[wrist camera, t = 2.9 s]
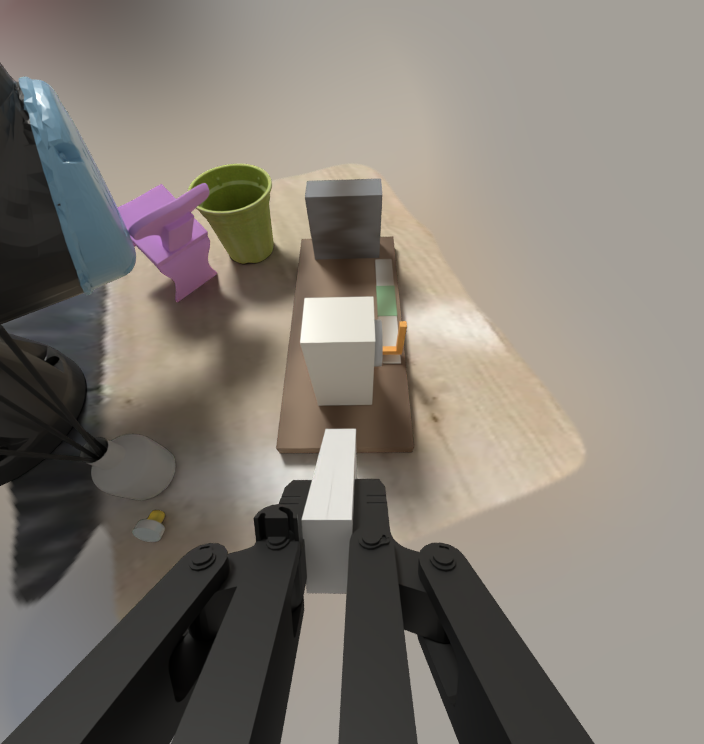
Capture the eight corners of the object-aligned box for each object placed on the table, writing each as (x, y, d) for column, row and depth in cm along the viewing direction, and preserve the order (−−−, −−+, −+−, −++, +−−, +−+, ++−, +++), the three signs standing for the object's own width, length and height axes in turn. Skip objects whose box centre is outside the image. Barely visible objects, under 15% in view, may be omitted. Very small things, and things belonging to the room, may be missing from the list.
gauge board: (279, 453, 30) (247, 411, 21) (303, 248, 44) (289, 176, 36) (411, 452, 29) (430, 409, 21) (392, 246, 43) (398, 172, 35)
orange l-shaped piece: (325, 364, 32) (319, 334, 28) (326, 348, 33) (321, 316, 29) (401, 363, 32) (407, 333, 28) (400, 346, 33) (405, 315, 29)
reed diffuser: (119, 444, 31) (-197, 291, 13) (192, 413, 32) (-10, 238, 15) (134, 555, 26) (-330, 541, 9) (218, 512, 27) (-34, 428, 10)
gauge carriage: (318, 405, 30) (299, 342, 21) (320, 368, 32) (304, 298, 24) (378, 404, 30) (384, 341, 21) (376, 367, 32) (381, 296, 23)
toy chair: (171, 215, 41) (151, 109, 27) (223, 269, 42) (229, 193, 29) (111, 251, 37) (55, 150, 24) (170, 307, 39) (148, 242, 25)
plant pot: (300, 244, 44) (288, 180, 37) (249, 285, 41) (224, 223, 33) (253, 219, 47) (233, 155, 40) (202, 254, 44) (169, 191, 36)
